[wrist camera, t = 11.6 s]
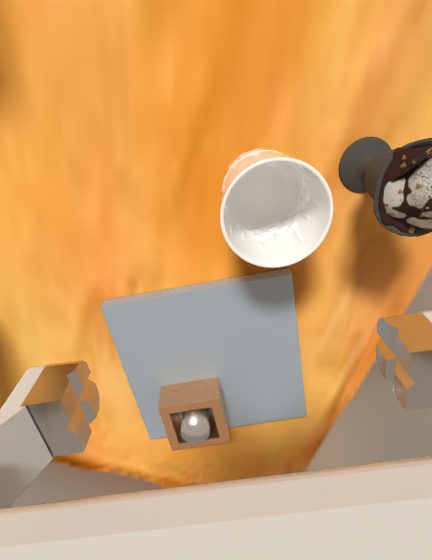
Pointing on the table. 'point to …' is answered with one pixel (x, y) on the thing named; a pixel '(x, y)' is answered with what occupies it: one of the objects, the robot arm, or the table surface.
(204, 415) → the piston
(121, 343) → the plate
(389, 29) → the table surface
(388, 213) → the sundae
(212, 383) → the collar
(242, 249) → the white cup
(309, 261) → the table surface
